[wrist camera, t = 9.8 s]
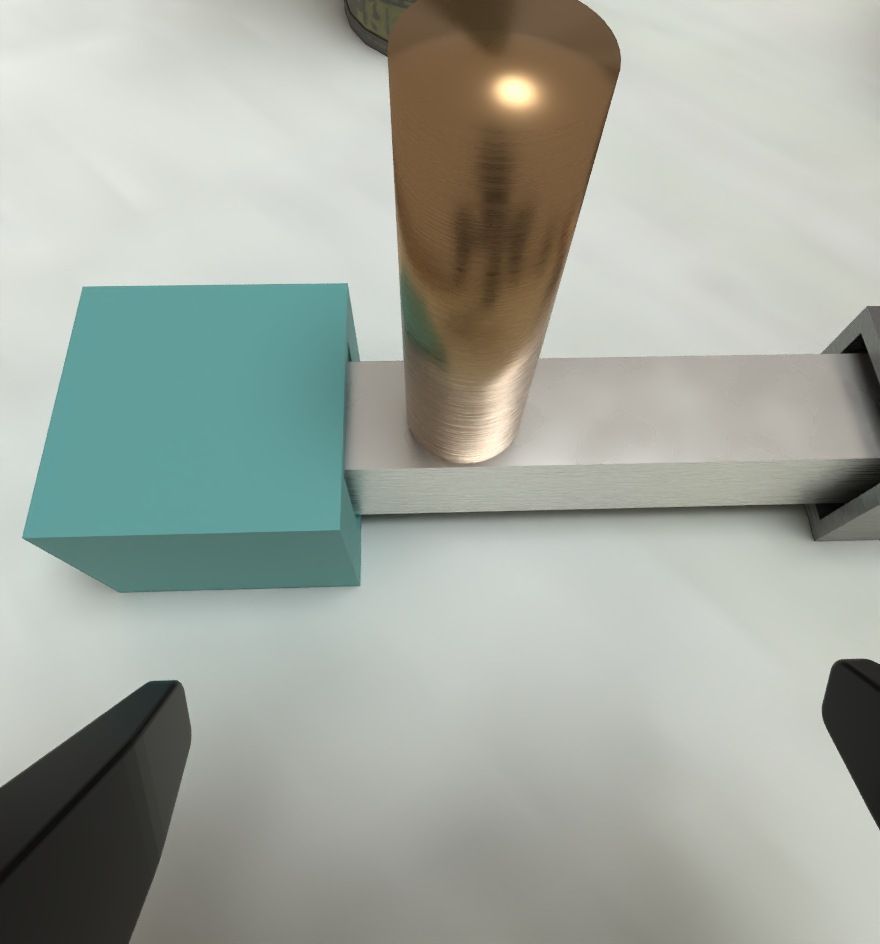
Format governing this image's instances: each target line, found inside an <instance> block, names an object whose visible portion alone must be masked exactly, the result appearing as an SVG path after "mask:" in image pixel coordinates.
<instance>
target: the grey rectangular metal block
mask: <svg viewBox="0 0 880 944" xmlns="http://www.w3.org/2000/svg"><path fill="white" fill-rule="evenodd" d="M853 353H869V356H870V359H871V361H872V364H873V367H874V370H875V372H876V375H877V378H878V381H879V383H880V306H867V307H866V308H865V309H864V310H863V311H862V312H861V313H860V314H859V315H858V316H857V317H856V318H855V319H854V320H853V321H852V322H851V323H850V324H849V325H848V326H847V327H846V328H845V329H844V330H843V331H842V333H841V334H840V335H839V336H838V337H837V338H836V339H835V340H834V341H833V342H832V343H831V344H830V345H829V346H828V347H827V348H826V349H825V350H824V351H823V352H822V353H821V354H853ZM805 507H806V510H807V514H808V518H809V521H810V525H811V528H812V532H813V535H814V539H815V541H835V540H873V539H880V484H878V485H876V486H875V487H873V488H872V489H870V490H868V491H867V492H865V493H863V494H862V495H860V496H858V497H857V498H855V499H854V500H852V501H850V502H849V503H813V504H805Z"/></svg>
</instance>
